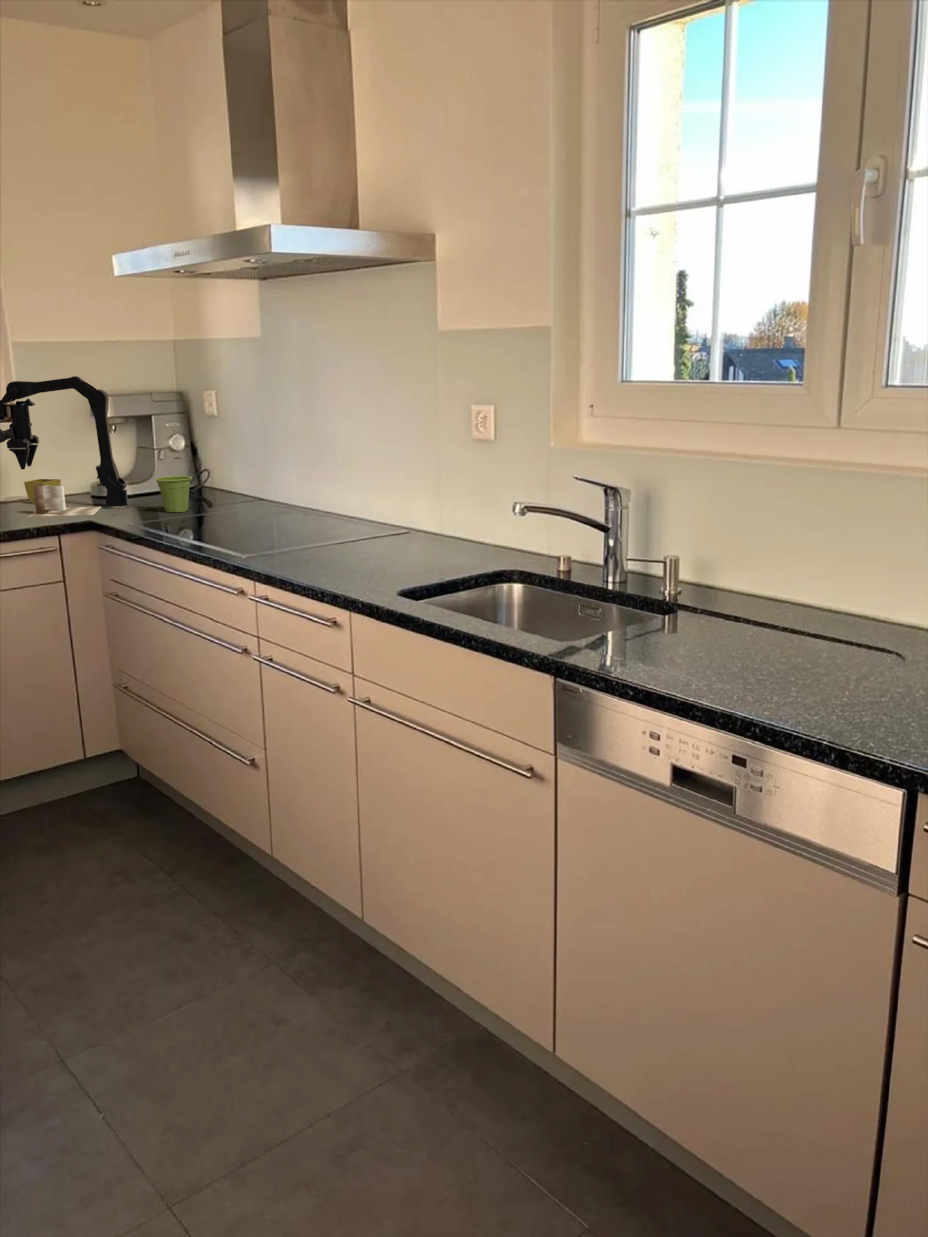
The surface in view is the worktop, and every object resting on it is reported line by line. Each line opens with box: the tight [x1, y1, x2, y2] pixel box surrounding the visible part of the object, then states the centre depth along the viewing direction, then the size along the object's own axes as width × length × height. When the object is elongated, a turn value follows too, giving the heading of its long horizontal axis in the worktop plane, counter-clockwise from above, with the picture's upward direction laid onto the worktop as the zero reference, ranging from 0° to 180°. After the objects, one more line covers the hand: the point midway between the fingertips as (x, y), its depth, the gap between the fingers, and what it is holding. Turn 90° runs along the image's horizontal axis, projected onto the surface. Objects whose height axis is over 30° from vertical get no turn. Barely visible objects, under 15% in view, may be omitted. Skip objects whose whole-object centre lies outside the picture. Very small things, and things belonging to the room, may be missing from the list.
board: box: [27, 506, 102, 518], centre depth 334 cm, size 20×18×1 cm
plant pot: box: [155, 475, 193, 513], centre depth 339 cm, size 12×12×11 cm
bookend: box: [33, 485, 67, 513], centre depth 330 cm, size 10×9×9 cm
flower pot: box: [23, 478, 62, 505], centre depth 352 cm, size 9×9×9 cm
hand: (26, 467), depth 338 cm, fingers open, 9 cm apart
